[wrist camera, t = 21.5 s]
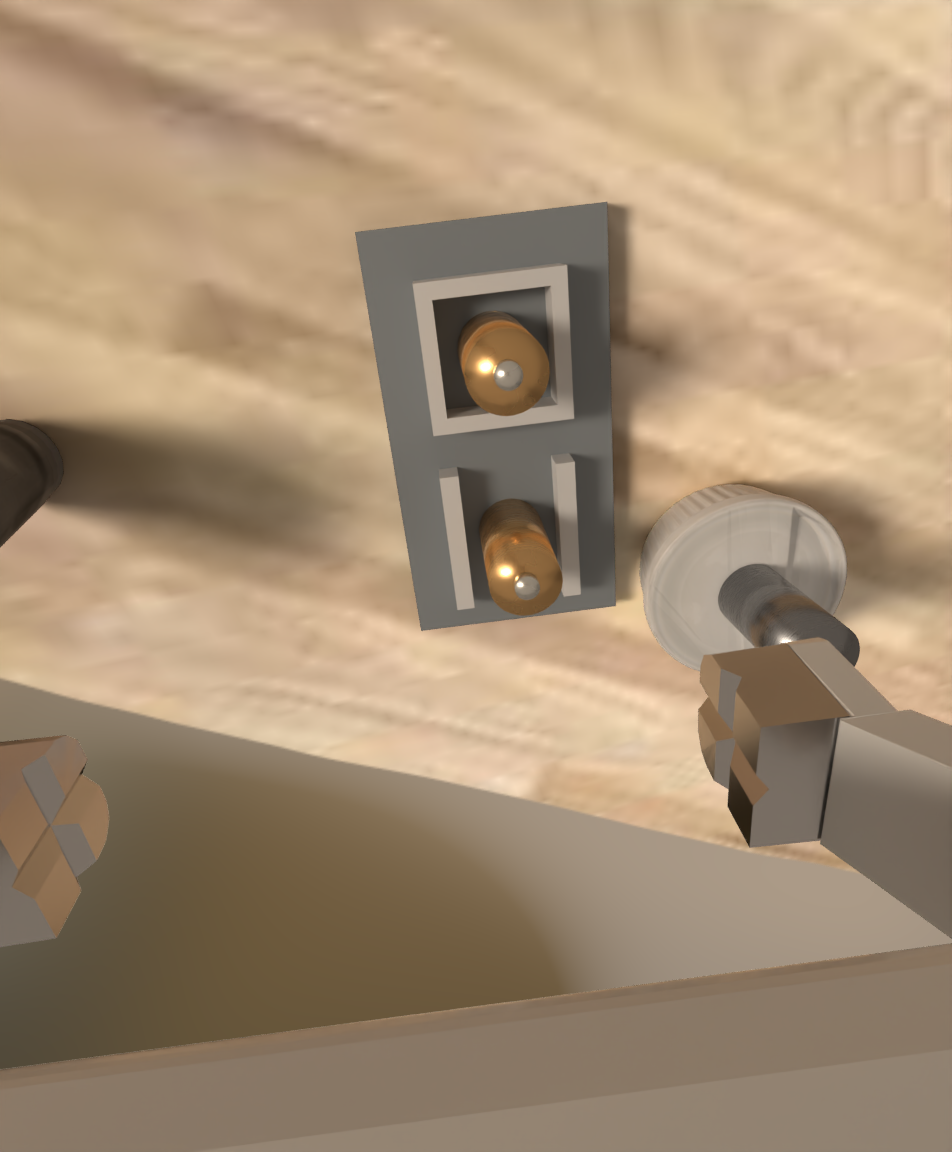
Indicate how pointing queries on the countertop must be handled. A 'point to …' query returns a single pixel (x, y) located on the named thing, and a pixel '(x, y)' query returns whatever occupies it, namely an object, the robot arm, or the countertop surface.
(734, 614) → the cylinder
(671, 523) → the ramekin
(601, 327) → the gray slab
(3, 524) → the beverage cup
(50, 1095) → the robot arm
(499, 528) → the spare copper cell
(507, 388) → the copper cell
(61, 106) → the countertop surface
